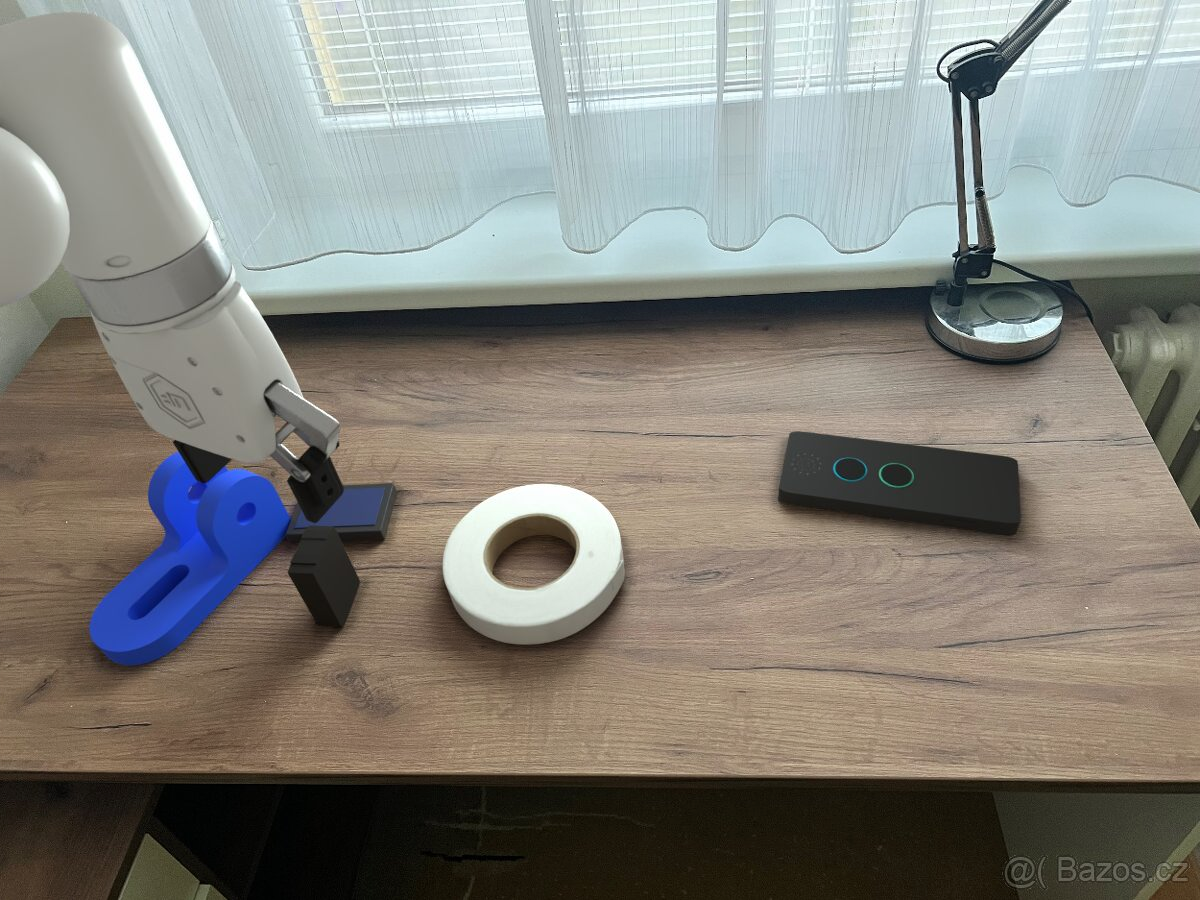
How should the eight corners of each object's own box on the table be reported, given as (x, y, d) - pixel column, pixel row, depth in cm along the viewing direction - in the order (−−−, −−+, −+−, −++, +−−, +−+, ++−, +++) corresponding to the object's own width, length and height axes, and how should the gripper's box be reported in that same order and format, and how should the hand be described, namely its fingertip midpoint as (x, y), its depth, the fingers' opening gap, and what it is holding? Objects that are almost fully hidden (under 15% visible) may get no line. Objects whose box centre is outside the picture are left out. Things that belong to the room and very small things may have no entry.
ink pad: (290, 544, 81) (284, 533, 80) (307, 496, 85) (302, 485, 84) (384, 540, 80) (380, 530, 79) (397, 492, 84) (393, 481, 83)
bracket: (233, 500, 86) (194, 434, 80) (295, 526, 83) (259, 460, 76) (81, 642, 75) (23, 579, 69) (145, 679, 72) (89, 617, 66)
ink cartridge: (336, 580, 77) (306, 522, 72) (361, 582, 77) (333, 523, 71) (317, 628, 74) (284, 570, 68) (343, 629, 74) (311, 571, 68)
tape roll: (438, 650, 71) (429, 631, 69) (459, 509, 82) (453, 488, 80) (627, 640, 70) (624, 620, 68) (624, 498, 81) (621, 477, 79)
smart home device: (790, 427, 83) (1018, 455, 78) (789, 440, 84) (1013, 468, 79) (777, 490, 77) (1021, 525, 72) (776, 503, 79) (1017, 538, 73)
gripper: (-8, 281, 48) (138, 492, 60) (224, 343, 41) (336, 566, 53) (100, 212, 52) (216, 421, 64) (324, 259, 46) (406, 482, 58)
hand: (270, 487), depth 59 cm, fingers open, 9 cm apart
